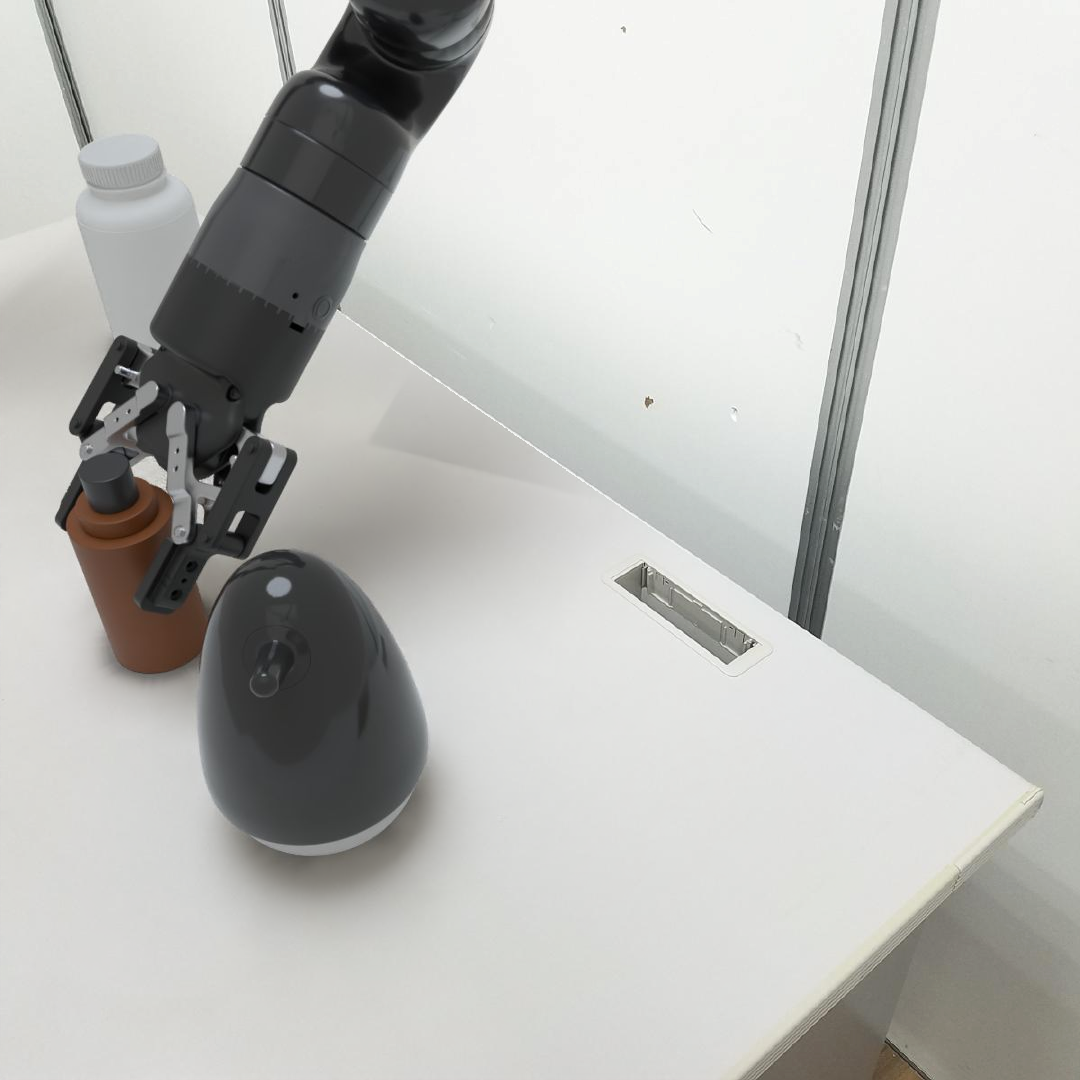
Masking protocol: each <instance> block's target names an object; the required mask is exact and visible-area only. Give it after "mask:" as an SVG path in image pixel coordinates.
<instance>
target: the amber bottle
mask: <svg viewBox="0 0 1080 1080" xmlns="http://www.w3.org/2000/svg"><path fill="white" fill-rule="evenodd" d="M79 466H80V465H79ZM78 468H79V467H78ZM78 474H79V478H80V480H81V483H82V486H83V489H84V491H83V492H82V493H81V494H80V496H79V497H78V499H77V501H76V505H75V506H74V508H73V509H72V510H71V512H70V514H69V515H68V518H67V522H66V530H67V532H66V533H67V536H68V539H69V541H70V543H71V546H72V549H73V551H74V553H75V556H76V559H77V561H78V564H79V567H80V569H81V571H82V574H83V576H84V579H85V582H86V585H87V588H88V590H89V592H90V595H91V597H92V599H93V600H92V601H93V602H94V605H95V608H96V610H97V613H98V616H99V619H100V621H101V624H102V626H103V628H104V632H105V633H106V637H107V639H108V641H109V644H110V647H111V649H112V652H113V654H114V657H115V658H116V660H117V662H118V663H119V664H121V665H122V666H123V667H124V668H126V669H128V670H130V671H133V672H136V673H142V674H158V673H165V672H169V671H172V670H174V669H175V670H176V669H177V668H180V667H182V666H184V665H186V664H188V663H189V662H191V661H192V660H193V659H194V658H196V657H197V656H198V655H199V654H201V647H202V642H203V637H204V633H205V629H206V625H207V621H208V618H209V617H208V615H207V612H206V608H205V605H204V602H203V598H202V595H201V592H200V588H199V585H198V580H197V581H196V583H195V585H193V588H192V590H191V592H190V593H189V596H188V598H187V600H186V601H185V603H184V604H183V605H182V606H181V607H180V608H179V609H178V610H176V611H175V612H173V613H172V614H169V615H163V614H158V613H152V612H146V611H143V610H142V609H141V608H140V607H139V606H138V605H137V604H136V603H135V602H134V595H135V593H136V591H137V589H138V587H139V585H140V584H141V582H142V580H143V578H144V576H145V574H146V572H147V571H148V569H149V567H150V565H151V563H152V561H153V559H154V557H155V556H156V554H157V552H158V550H159V548H160V546H161V544H162V542H163V541H164V539H165V537H167V538H171V528H172V514H173V499H172V498H171V497H170V496H169V494H168V493H167V490H165V489H163V488H161V487H160V486H158V485H155V484H152V483H150V482H149V481H147V480H146V479H144V478H142V477H138V476H135V475H134V472H133V468H132V467H131V465H130V462H129V460H128V459H127V458H126V457H125V456H124V455H122V454H118V453H103V454H99V455H96V456H93V457H91V458H89V459H88V460H86V461H85V462H84V463H83V464H82V465H81V466H80V468H79V473H78ZM171 539H172V538H171Z"/></svg>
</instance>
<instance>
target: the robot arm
mask: <svg viewBox="0 0 1080 1080" xmlns="http://www.w3.org/2000/svg"><path fill="white" fill-rule="evenodd" d="M495 2H496V1H495V0H348V3H347V5H346V8H345V10H344V12H343V14H342V16H341V19H340V20H339V22H338V23H337V25H336V27H335V28H334V30H333V32H332V34H331V35H330V36H329V38H328V40H327V42H326V44H325V45H324V47H323V49H322V50H321V52H320V54H319V55H318V57H317V59H316V61H315V62H314V64H313V66H311V67H310V69H304V70H300V71H298V72H295V73H294V74H292V75H291V76H290V77H289V78H287V80H286V81H285V82H284V84H283V85H282V86H281V88H280V89H279V91H278V92H277V94H276V95H275V97H274V99H273V100H272V102H271V104H270V106H269V107H268V109H267V110H266V112H265V115H264V116H263V117H262V120H261V122H260V124H259V125H258V128H257V130H256V132H255V134H254V136H253V137H252V139H251V141H250V143H249V145H248V147H247V148H246V151H245V153H244V154H243V157H242V159H241V160H240V163H239V167H236V170H235V171H234V173H233V174H232V176H231V178H230V179H229V181H228V182H227V184H225V186H224V187H223V189H221V191H220V193H219V194H218V196H217V197H216V199H215V200H214V202H213V203H212V205H211V206H210V208H209V210H208V212H207V213H206V215H205V217H204V219H203V221H202V223H201V225H200V229H199V231H198V233H197V235H196V237H195V239H194V241H193V242H192V244H191V246H190V248H189V250H188V252H187V254H186V256H185V258H184V260H183V261H182V263H181V265H180V267H179V269H178V271H177V273H176V275H175V277H174V279H173V280H172V282H171V284H170V286H169V288H168V290H167V292H166V294H165V296H164V298H163V300H162V302H161V304H160V305H159V307H158V309H157V311H156V313H155V315H154V317H153V319H152V321H151V323H150V333H151V335H152V337H153V338H154V339H155V340H156V341H157V342H158V343H159V344H160V345H161V346H160V348H159V349H158V350H157V349H154V348H152V347H149V346H147V345H145V344H142V343H140V342H138V341H135V340H133V339H130V338H128V337H126V336H123V335H120V336H118V337H116V339H115V340H114V339H113V341H112V344H111V345H110V347H109V348H108V350H107V353H106V354H105V356H104V358H103V360H102V361H101V364H100V365H99V367H98V368H97V371H96V372H95V374H94V376H93V378H92V380H91V382H90V383H89V385H88V388H87V389H86V391H85V393H84V395H83V396H82V398H81V400H80V402H79V403H78V406H77V408H76V409H75V411H74V413H73V414H72V416H71V418H70V420H69V423H68V431H69V433H70V434H71V435H72V436H76V437H78V439H79V441H80V443H81V444H80V447H79V450H78V451H79V453H78V454H79V457H80V459H81V462H80V464H79V466H78V468H77V470H76V472H75V474H74V475H73V478H72V479H71V480H70V483H69V485H68V487H67V489H66V492H65V493H64V495H63V497H62V498H61V501H60V505H59V508H58V510H57V512H56V514H55V516H54V522H55V525H57V526H58V527H59V528H60V529H61V530H62V531H64V532H66V533H67V530H66V522H67V518H68V515H69V514H70V512H71V510H72V509H73V508H74V506H75V505H76V501H77V499H78V497H79V496H80V494H81V493H82V492H83V491H84V489H83V486H82V483H81V480H80V478H79V474H78V473H79V468H80V466H81V465H82V464H83V463H84V462H85V461H86V460H88V459H89V458H91V457H93V456H96V455H99V454H103V453H118V454H122V455H124V456H125V457H126V458H127V459H128V460H129V462H130V465H131V468H132V467H134V466H136V465H137V464H138V463H140V462H142V461H143V460H144V459H146V458H148V457H149V458H150V457H154V459H155V461H156V463H157V465H158V466H159V467H160V468H162V469H163V470H164V471H165V472H166V483H165V489H166V490H165V491H166V492H167V493H168V494H169V496H170V497H171V499H172V501H173V514H172V528H171V538H172V539H171V538H167V537H165V539H164V541H163V542H162V544H161V546H160V548H159V550H158V552H157V554H156V556H155V557H154V559H153V561H152V563H151V565H150V567H149V569H148V571H147V572H146V574H145V576H144V578H143V580H142V582H141V584H140V585H139V587H138V589H137V591H136V593H135V595H134V602H135V603H136V604H137V605H138V606H139V607H140V608H141V609H142V610H143V611H146V612H152V613H158V614H163V615H169V614H172V613H173V612H175V611H176V610H178V609H179V608H180V607H181V606H182V605H183V604H184V603H185V601H186V600H187V598H188V596H189V593H190V592H191V590H192V588H193V585H195V583H196V581H197V582H198V579H199V577H200V575H201V574H202V572H203V570H204V568H205V566H206V564H207V563H208V562H209V560H210V559H211V558H212V557H214V556H216V555H220V556H224V557H229V558H233V559H237V560H240V561H244V560H246V559H248V558H249V557H250V555H252V552H253V549H255V546H256V544H257V543H258V541H259V538H260V536H261V535H262V532H263V530H264V529H265V527H266V524H267V523H268V521H269V519H270V517H271V515H272V513H273V511H274V509H275V507H276V505H277V504H278V501H279V499H280V497H281V495H283V492H284V490H285V488H286V486H287V484H288V482H289V480H290V478H291V476H292V474H293V472H294V470H295V468H296V466H297V464H298V454H297V452H296V450H294V449H293V448H289V447H287V446H284V445H283V444H280V443H278V442H275V441H273V440H270V439H269V438H267V437H266V436H264V435H263V434H261V432H262V424H263V421H264V418H265V416H266V413H267V411H268V410H269V408H271V407H272V406H273V405H275V404H282V403H285V402H286V401H288V400H289V399H290V398H291V395H292V394H293V392H294V390H295V388H296V387H297V385H298V383H299V381H300V379H301V377H302V375H303V374H304V372H305V370H306V368H307V366H308V364H309V363H310V361H311V358H312V357H313V355H314V353H315V352H316V350H317V348H318V346H319V344H320V342H321V341H322V338H323V336H324V335H325V333H326V331H327V329H328V327H329V326H330V323H331V321H332V319H333V318H334V316H335V314H336V312H337V310H338V309H339V307H340V305H341V303H342V302H343V299H344V298H345V296H346V294H347V292H348V290H349V288H350V286H351V283H352V282H353V279H354V276H355V273H356V270H357V269H358V266H359V262H360V261H361V258H362V254H363V253H364V250H365V248H366V246H367V242H366V241H369V240H370V238H371V237H372V235H373V233H374V231H375V229H376V227H377V226H378V223H379V222H380V220H381V218H382V216H383V214H384V212H385V211H386V209H387V207H388V205H389V203H390V202H391V199H392V198H393V195H394V194H395V192H396V190H397V189H398V185H399V184H400V182H401V181H402V178H403V175H404V173H405V171H406V168H407V166H408V164H409V162H410V160H411V157H412V156H413V154H414V152H415V151H416V149H417V148H418V146H419V145H420V143H421V142H422V141H423V139H424V138H425V136H427V134H428V133H429V131H430V130H431V129H432V128H433V126H434V125H435V123H436V122H437V121H438V119H439V118H440V116H441V114H443V112H444V110H445V109H446V107H447V106H448V105H449V103H450V102H451V100H452V99H453V97H454V96H455V95H456V94H457V93H456V92H457V91H458V90H459V88H460V87H461V85H462V84H463V82H464V81H465V79H466V77H467V75H469V72H470V71H471V69H472V67H473V65H474V64H475V62H476V60H477V59H478V56H479V54H480V52H481V50H482V48H483V47H484V44H485V42H486V40H487V37H488V35H489V32H490V30H491V27H492V23H493V19H494V14H495V6H496V5H495V4H496V3H495ZM107 403H112V404H114V406H113V408H112V410H111V412H110V413H108V414H107V415H106V416H104V417H103V419H102V420H101V419H98V418H97V417H98V416H99V414H100V412H101V410H102V408H103V407H104V405H105V404H107ZM212 476H213V478H212V484H210V483H206V482H204V481H201V480H206V479H208V478H211V477H212ZM199 505H200V506H201V507H202V508H203V523H199V522H198V507H199ZM240 512H243V514H242V516H241V518H240V520H239V521H238V523H237V525H236V527H235V530H234V531H231V530H230V528H231V526H232V524H233V521H234V520H235V518H236V516H237V515H238V514H239V513H240Z"/></svg>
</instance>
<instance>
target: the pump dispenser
mask: <svg viewBox="0 0 1080 1080" xmlns="http://www.w3.org/2000/svg"><path fill="white" fill-rule="evenodd" d="M207 618H208V621H207V625H206V629H205V633H204V637H203V642H202V647H201V652H200V653H199V654H200V656H199V664H198V675H197V687H196V731H197V732H196V733H197V743H198V751H199V760H200V765H201V770H202V774H203V779H204V782H205V785H206V789H207V791H208V793H209V796H210V798H211V800H212V802H213V804H214V805H215V807H216V809H217V810H218V811H219V812H220V814H222V816H223V817H224V818H225V819H226V820H227V821H228V822H229V823H230V824H231V825H233V827H236V828H237V829H238V830H240V831H242V832H243V833H245V834H247V835H248V836H250V837H251V838H252V839H254V840H256V841H257V842H258V843H261V844H262V845H264V846H267V847H268V848H271V849H273V850H277V851H278V852H282V853H285V854H290V855H296V856H305V857H319V856H328V855H334V854H339V853H342V852H345V851H348V850H351V849H354V848H356V847H358V846H360V845H362V844H364V843H366V842H368V841H370V840H372V839H373V838H374V837H376V836H377V835H379V834H380V833H381V832H383V831H384V830H385V829H386V828H388V826H389V825H391V824H392V822H394V820H395V819H397V817H398V816H399V815H400V814H401V812H402V810H404V808H405V806H406V805H407V803H408V802H409V800H410V798H411V797H412V794H413V792H414V790H415V788H416V786H417V785H418V783H419V781H420V779H421V777H422V776H423V773H424V770H425V768H426V765H427V760H428V757H429V747H430V736H429V735H430V734H429V725H428V720H427V714H426V711H425V710H426V709H425V707H424V704H423V701H422V697H421V695H420V692H419V689H418V685H417V683H416V680H415V678H414V676H413V674H412V673H413V672H412V671H411V669H410V666H409V664H408V661H407V660H406V657H405V655H404V653H403V651H402V649H401V648H400V645H399V643H398V641H397V639H396V638H395V636H394V634H393V633H392V631H391V629H390V628H389V626H388V624H387V622H386V620H385V619H384V618H383V616H382V614H381V613H380V612H379V610H378V609H377V607H376V606H375V605H374V602H373V601H372V600H371V599H370V598H369V596H368V595H367V594H366V593H365V592H364V590H363V589H362V588H361V586H360V585H359V584H357V583H356V582H355V580H353V578H351V576H349V575H348V573H346V571H344V570H343V569H341V568H340V567H338V565H336V564H334V563H333V562H332V561H330V560H328V559H326V558H325V557H323V556H321V555H319V554H316V553H314V552H311V551H309V550H304V549H298V548H277V549H271V550H268V551H265V552H261V553H258V554H257V555H255V556H253V557H251V558H249V559H248V560H246V561H244V562H243V563H242V564H241V565H239V566H238V567H237V568H236V569H235V570H234V571H233V572H232V574H231V575H230V576H229V577H228V578H227V580H226V581H225V582H224V584H223V585H222V588H221V589H220V591H219V593H218V594H217V596H216V598H215V600H214V603H213V605H212V607H211V609H210V612H209V616H208V617H207Z"/></svg>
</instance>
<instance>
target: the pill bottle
mask: <svg viewBox="0 0 1080 1080" xmlns="http://www.w3.org/2000/svg"><path fill="white" fill-rule="evenodd" d="M77 160H78V164H79V168H80V170H81V173H82V177H83V179H84V180H85V183H86V185H87V186H86V187H85V188H84V189H83V190H82V191H81V193H80V194H79V195H78V197H77V200H76V202H75V219H76V222H77V226H78V228H79V232H80V236H81V239H82V241H83V242H82V243H83V245H84V248H85V252H86V255H87V258H88V262H89V264H90V267H91V271H92V274H93V277H94V281H95V284H96V287H97V291H98V294H99V297H100V300H101V303H102V307H103V310H104V313H105V316H106V320H107V323H108V326H109V329H110V332H111V335H112V338H113V341H114V340H115V339H116V337H118V336H120V335H123V336H126V337H128V338H130V339H133V340H135V341H138V342H140V343H142V344H145V345H147V346H149V347H152V348H154V349H157V350H158V349H159V348H160V346H161V345H160V344H159V343H158V342H157V341H156V340H155V339H154V338H153V337H152V335H151V333H150V323H151V321H152V319H153V317H154V315H155V313H156V311H157V309H158V307H159V305H160V304H161V302H162V300H163V298H164V296H165V294H166V292H167V290H168V288H169V286H170V284H171V282H172V280H173V279H174V277H175V275H176V273H177V271H178V269H179V267H180V265H181V263H182V261H183V260H184V258H185V256H186V254H187V252H188V250H189V248H190V246H191V244H192V242H193V241H194V239H195V237H196V235H197V233H198V231H199V229H200V227H201V225H200V221H199V217H198V211H197V209H196V208H197V207H196V204H195V200H194V196H193V194H192V192H191V190H190V188H188V186H187V184H186V183H184V181H183V180H182V179H180V178H179V177H177V176H176V175H173V174H171V173H169V172H168V171H167V167H166V165H165V163H164V158H163V155H162V151H161V147H160V144H159V143H158V141H157V140H155V138H153V137H151V136H149V135H145V134H141V133H120V134H113V135H108V136H103V137H100V138H98V139H95V140H93V141H90V142H89V143H87V144H86V145H84V146H83V147H82V148H81V149H80V151H79V152H78V155H77Z"/></svg>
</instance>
